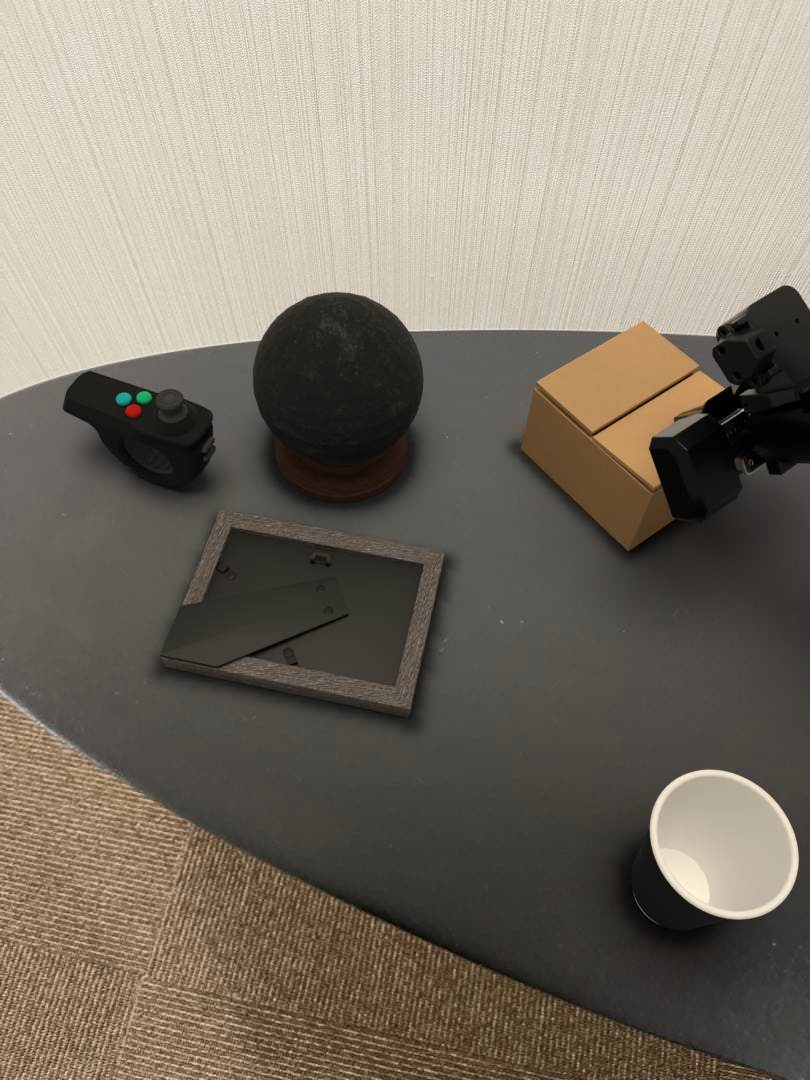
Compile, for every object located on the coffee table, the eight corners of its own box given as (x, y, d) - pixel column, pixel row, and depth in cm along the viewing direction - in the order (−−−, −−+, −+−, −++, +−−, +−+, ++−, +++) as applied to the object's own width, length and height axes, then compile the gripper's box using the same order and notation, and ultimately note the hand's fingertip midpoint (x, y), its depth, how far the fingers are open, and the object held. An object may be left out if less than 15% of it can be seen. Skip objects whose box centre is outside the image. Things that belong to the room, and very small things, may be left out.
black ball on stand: (386, 532, 73) (389, 404, 60) (237, 484, 75) (210, 351, 62) (439, 416, 80) (452, 280, 67) (301, 376, 82) (289, 237, 69)
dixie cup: (734, 967, 55) (806, 931, 46) (604, 943, 56) (649, 903, 47) (729, 837, 60) (794, 781, 51) (609, 817, 60) (651, 757, 51)
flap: (761, 419, 70) (762, 415, 70) (653, 491, 66) (654, 487, 65) (698, 373, 73) (699, 370, 73) (591, 440, 69) (592, 436, 69)
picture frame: (165, 667, 65) (409, 718, 64) (159, 654, 64) (410, 706, 62) (223, 520, 73) (443, 562, 71) (219, 505, 71) (445, 548, 70)
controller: (208, 511, 73) (186, 430, 65) (77, 462, 76) (41, 377, 67) (234, 473, 75) (216, 389, 67) (107, 426, 78) (75, 340, 70)
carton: (728, 481, 77) (764, 415, 70) (628, 551, 72) (654, 488, 65) (620, 389, 82) (642, 319, 75) (520, 449, 78) (534, 381, 71)
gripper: (925, 233, 56) (729, 273, 70) (722, 359, 49) (550, 375, 63) (963, 398, 59) (769, 405, 73) (777, 537, 53) (602, 516, 67)
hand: (678, 421), depth 69 cm, fingers closed, pressing on flap
